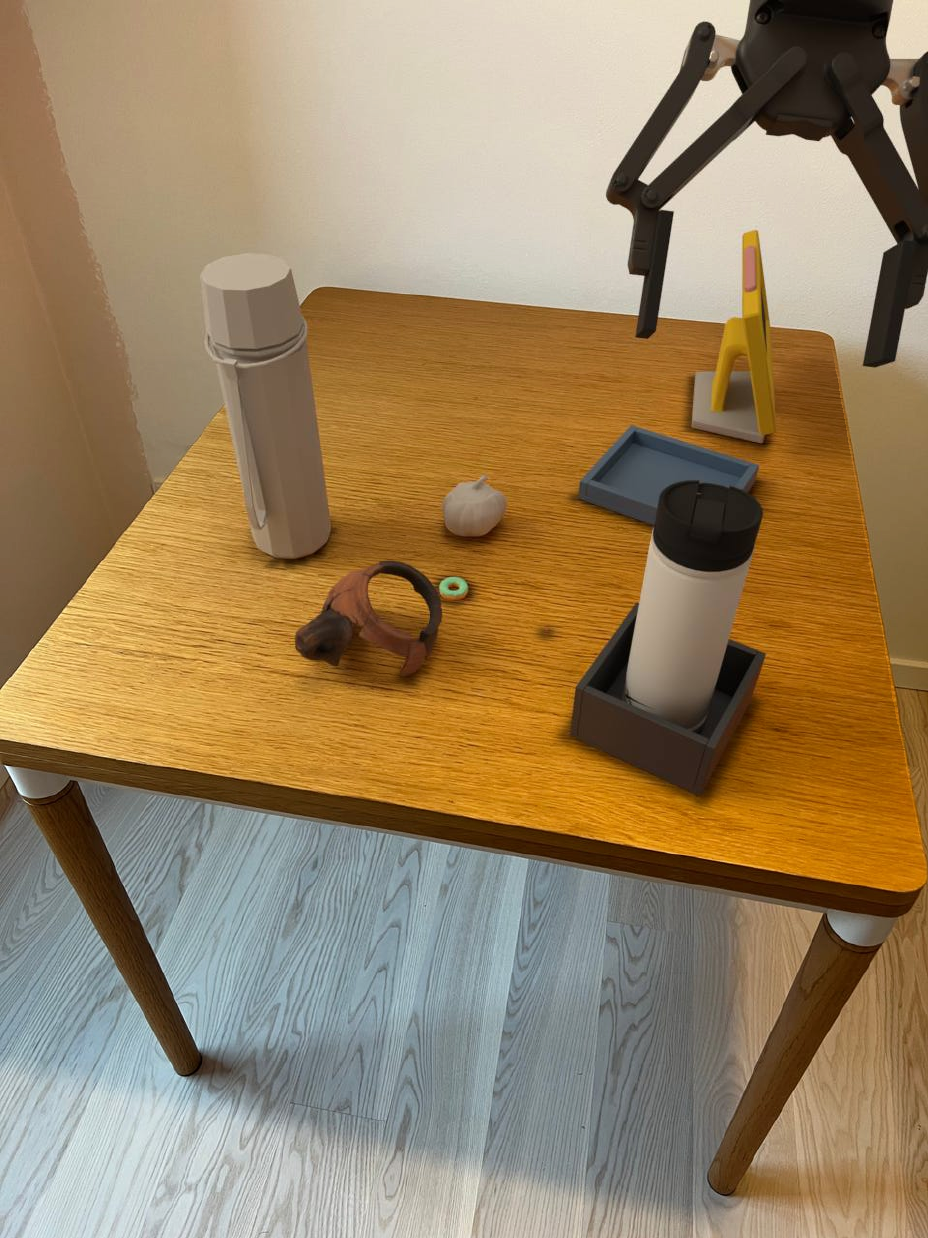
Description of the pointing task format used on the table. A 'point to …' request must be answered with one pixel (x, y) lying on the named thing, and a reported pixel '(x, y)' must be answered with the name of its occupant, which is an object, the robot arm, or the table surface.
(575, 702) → the dark grey open box
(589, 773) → the table surface
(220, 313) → the water bottle
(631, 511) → the tray
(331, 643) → the animal head ring
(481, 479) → the garlic
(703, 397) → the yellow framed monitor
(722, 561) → the travel mug
